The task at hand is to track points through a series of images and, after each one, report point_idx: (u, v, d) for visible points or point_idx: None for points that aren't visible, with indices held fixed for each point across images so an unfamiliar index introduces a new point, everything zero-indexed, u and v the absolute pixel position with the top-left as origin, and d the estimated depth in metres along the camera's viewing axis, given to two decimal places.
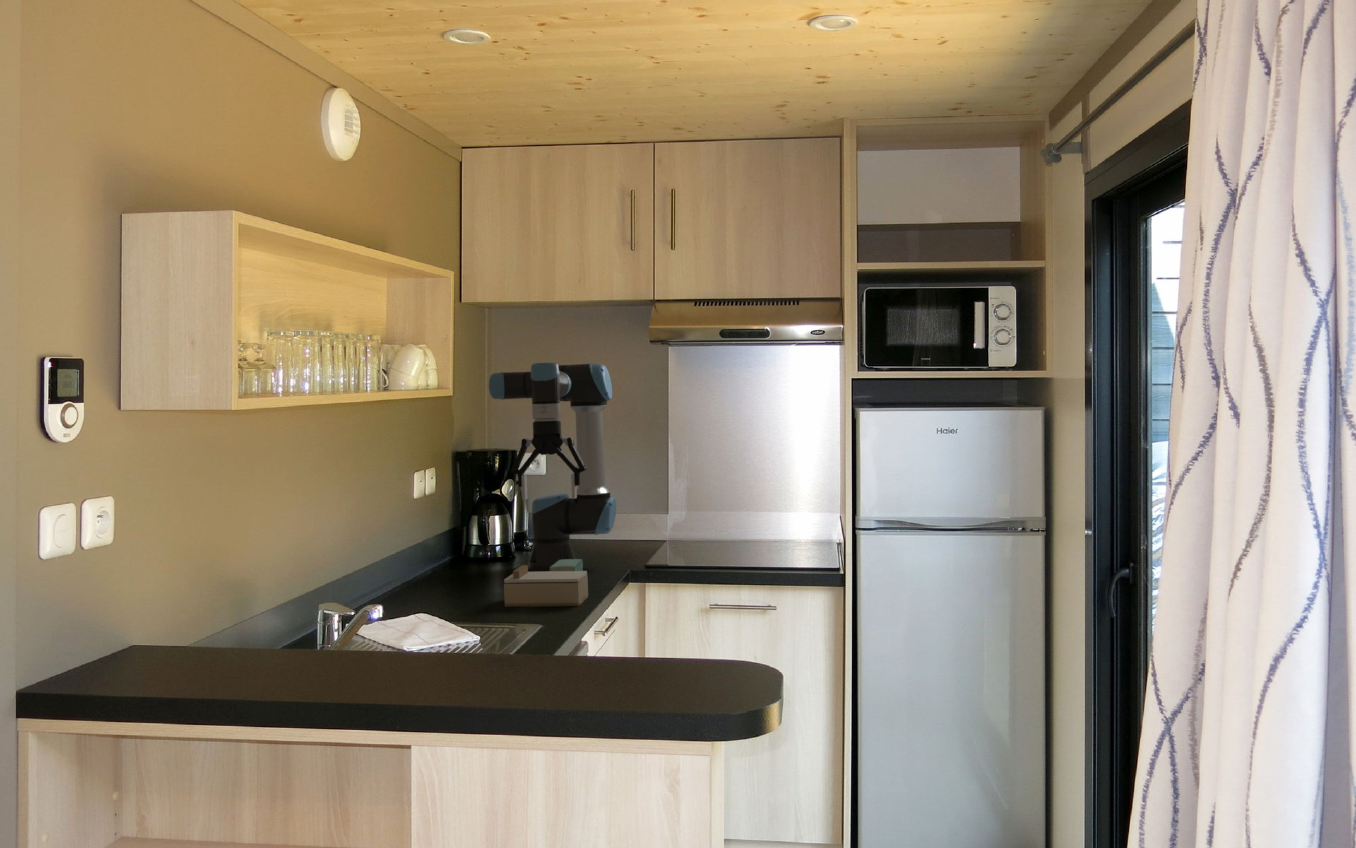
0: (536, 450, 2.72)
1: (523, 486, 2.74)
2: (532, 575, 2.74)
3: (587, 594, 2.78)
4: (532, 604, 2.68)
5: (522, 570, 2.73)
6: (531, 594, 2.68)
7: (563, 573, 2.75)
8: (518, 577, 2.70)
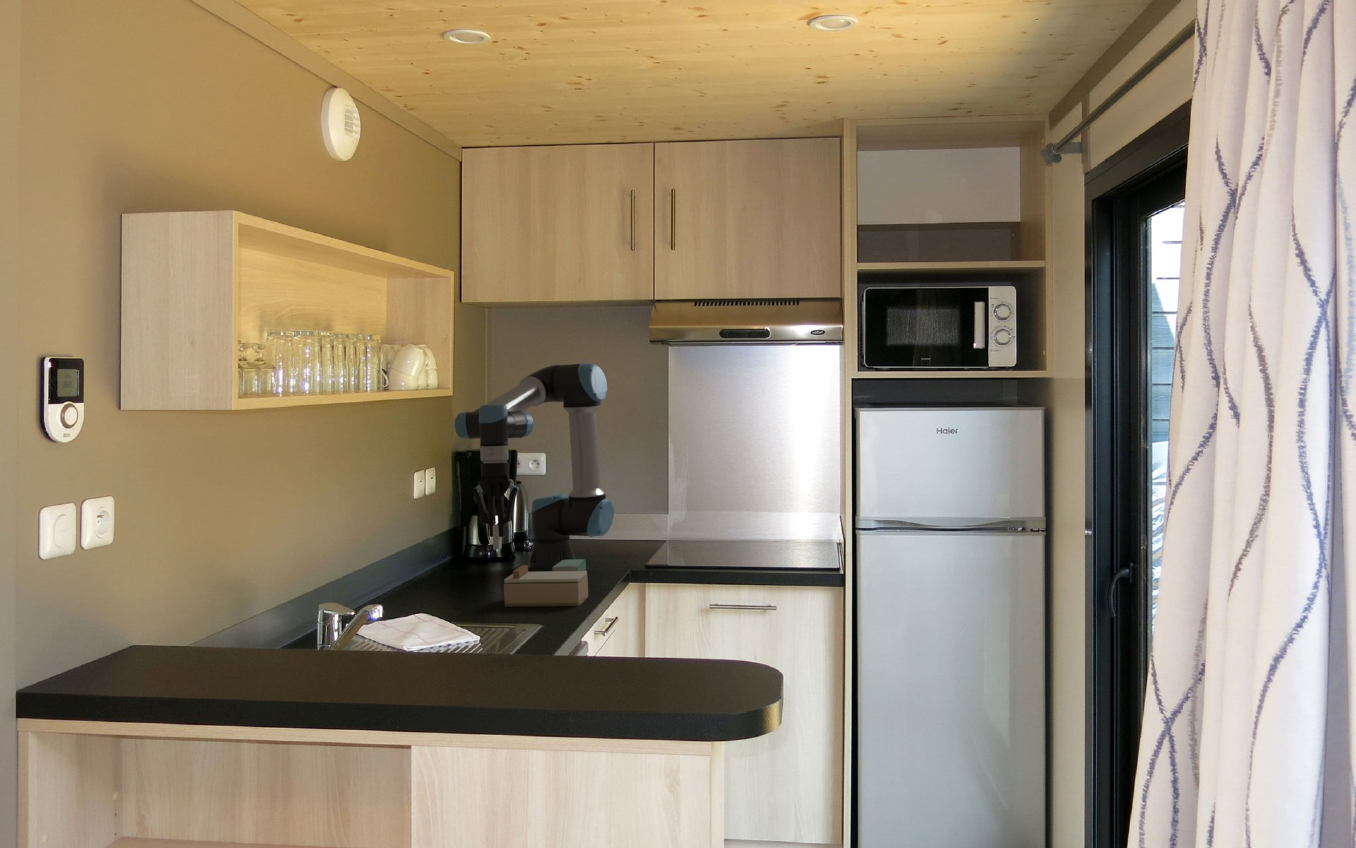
0: None
1: (494, 536, 2.73)
2: (532, 575, 2.74)
3: (587, 594, 2.78)
4: (532, 604, 2.68)
5: (522, 570, 2.73)
6: (531, 594, 2.68)
7: (563, 573, 2.75)
8: (518, 577, 2.70)
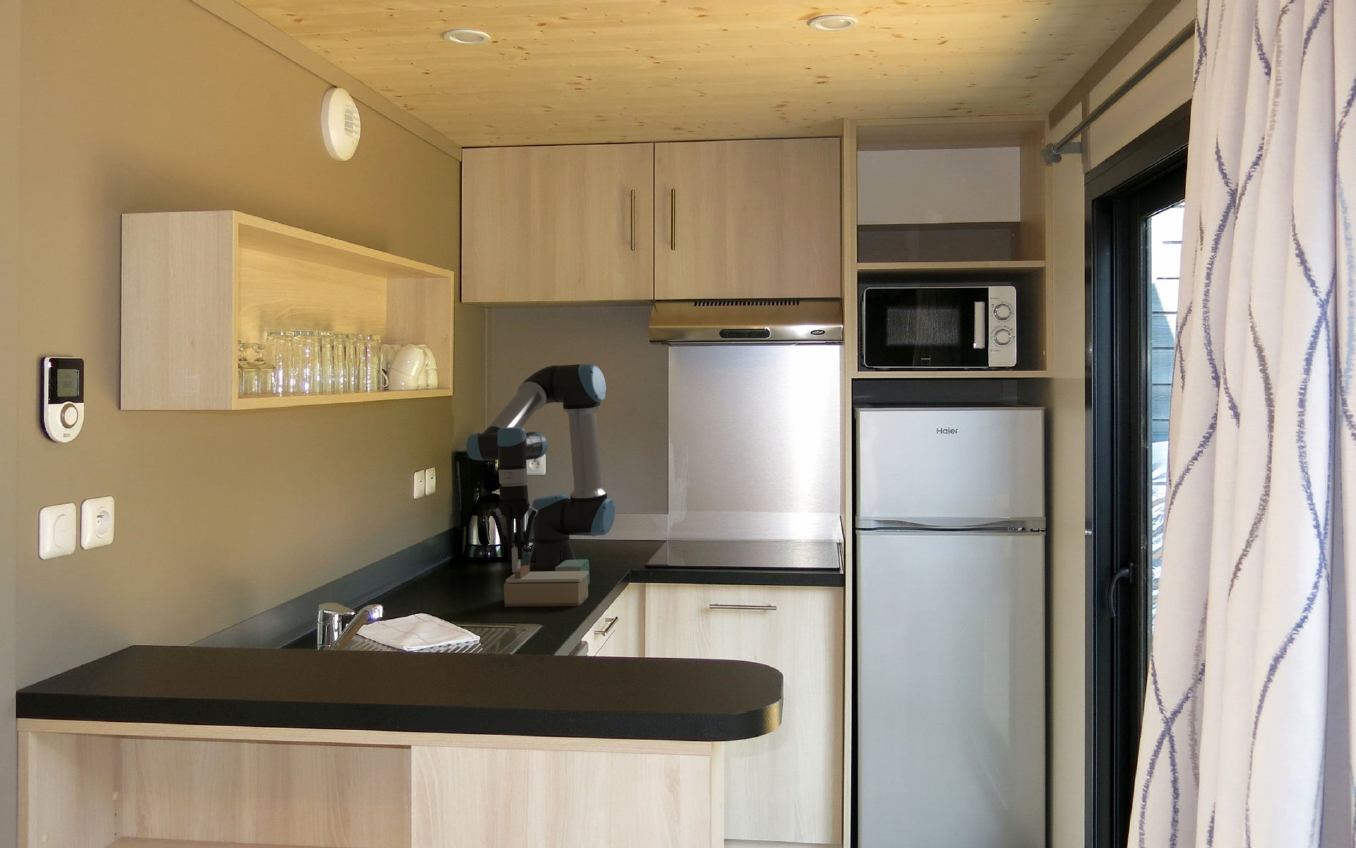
0: None
1: (513, 559, 2.73)
2: (534, 575, 2.74)
3: (587, 594, 2.78)
4: (532, 604, 2.68)
5: (524, 570, 2.73)
6: (531, 594, 2.68)
7: (565, 573, 2.75)
8: (520, 577, 2.70)
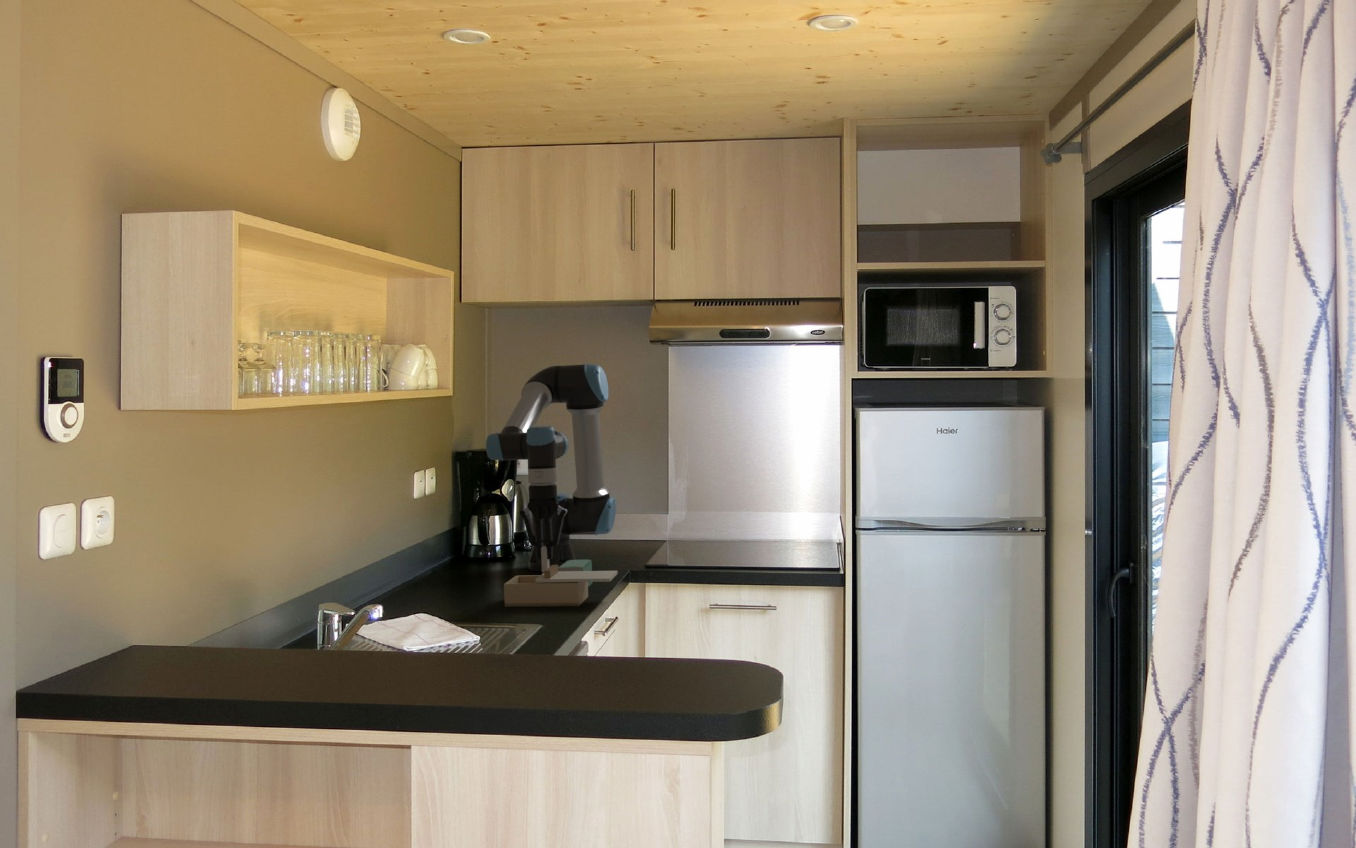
0: (532, 514, 2.72)
1: (543, 558, 2.72)
2: (563, 575, 2.73)
3: (587, 594, 2.78)
4: (532, 604, 2.68)
5: (553, 570, 2.72)
6: (531, 594, 2.68)
7: (594, 573, 2.74)
8: (549, 577, 2.69)
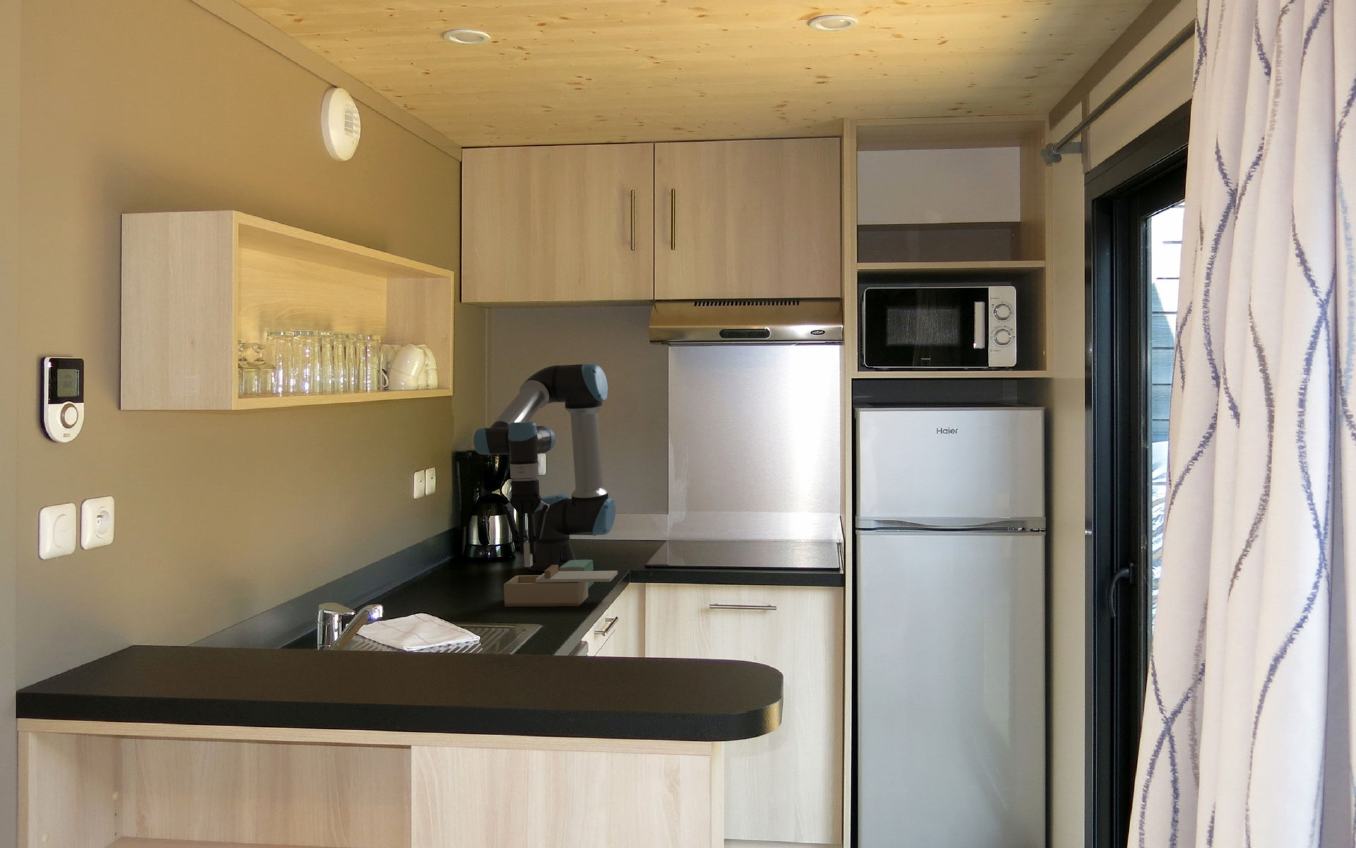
0: None
1: (525, 553, 2.73)
2: (563, 575, 2.73)
3: (587, 594, 2.78)
4: (532, 604, 2.68)
5: (553, 570, 2.72)
6: (531, 594, 2.68)
7: (594, 573, 2.74)
8: (549, 577, 2.69)
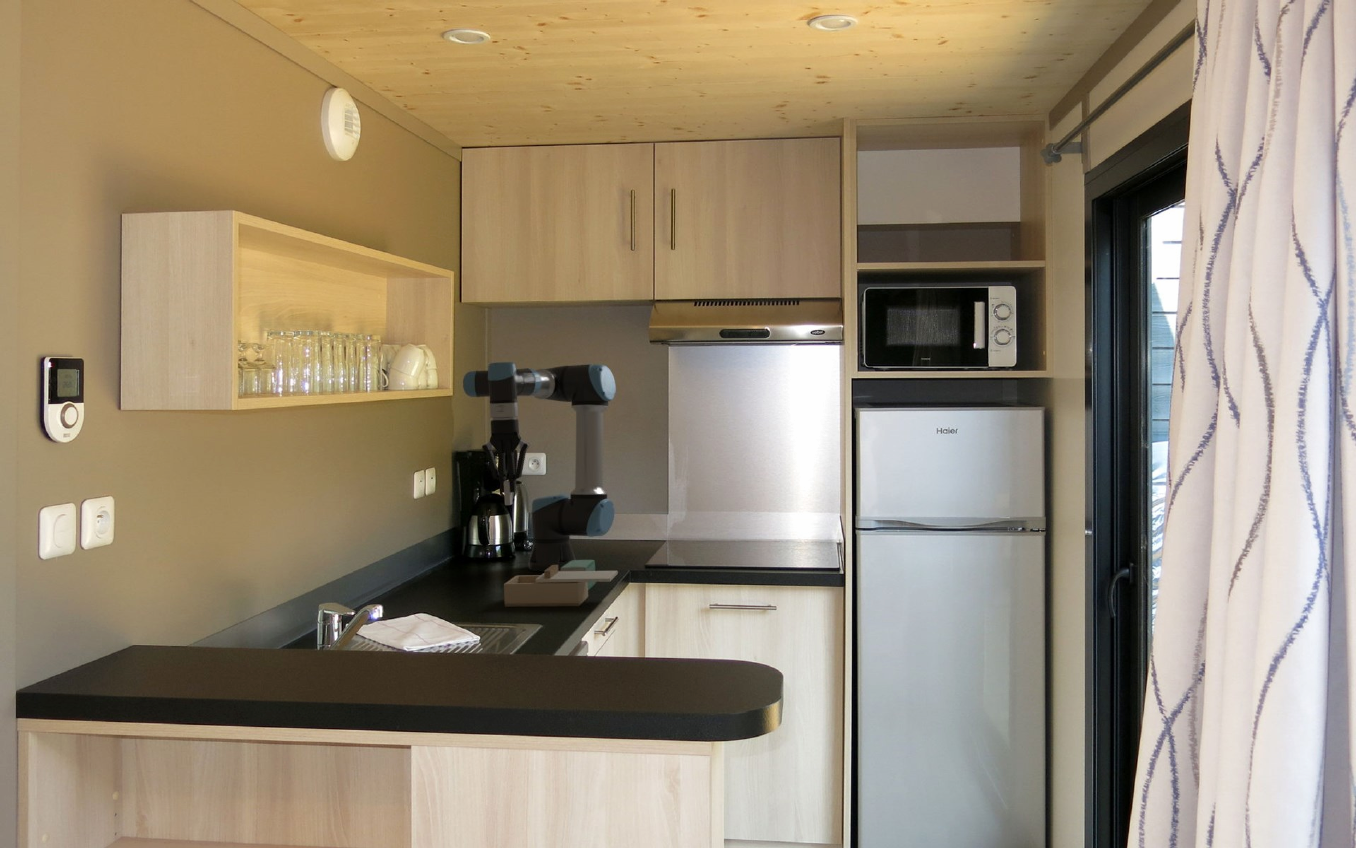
0: None
1: (505, 492, 2.77)
2: (563, 575, 2.73)
3: (587, 594, 2.78)
4: (532, 604, 2.68)
5: (553, 570, 2.72)
6: (531, 594, 2.68)
7: (594, 573, 2.74)
8: (549, 577, 2.69)
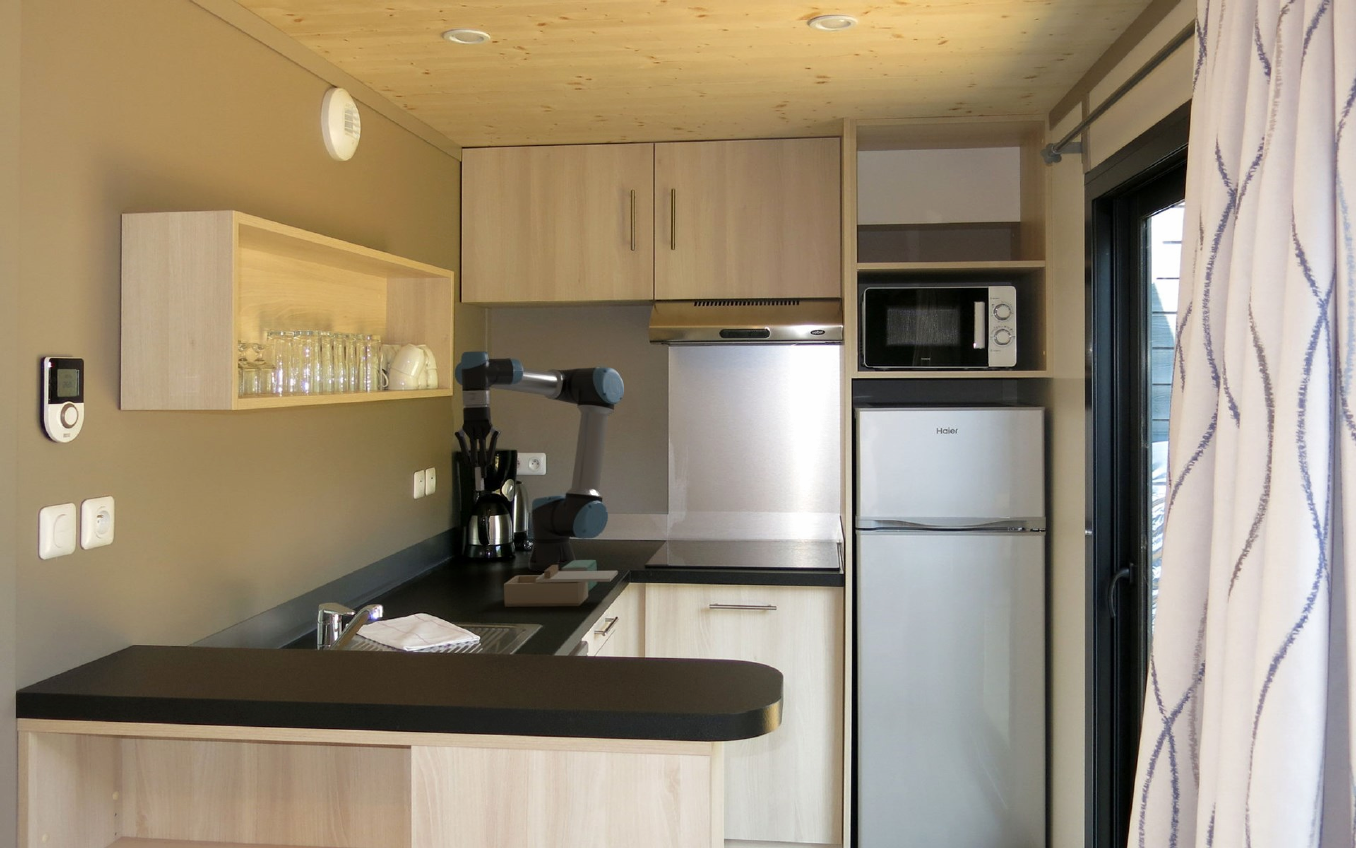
0: None
1: (476, 478, 2.85)
2: (563, 575, 2.73)
3: (587, 594, 2.78)
4: (532, 604, 2.68)
5: (553, 570, 2.72)
6: (531, 594, 2.68)
7: (594, 573, 2.74)
8: (549, 577, 2.69)
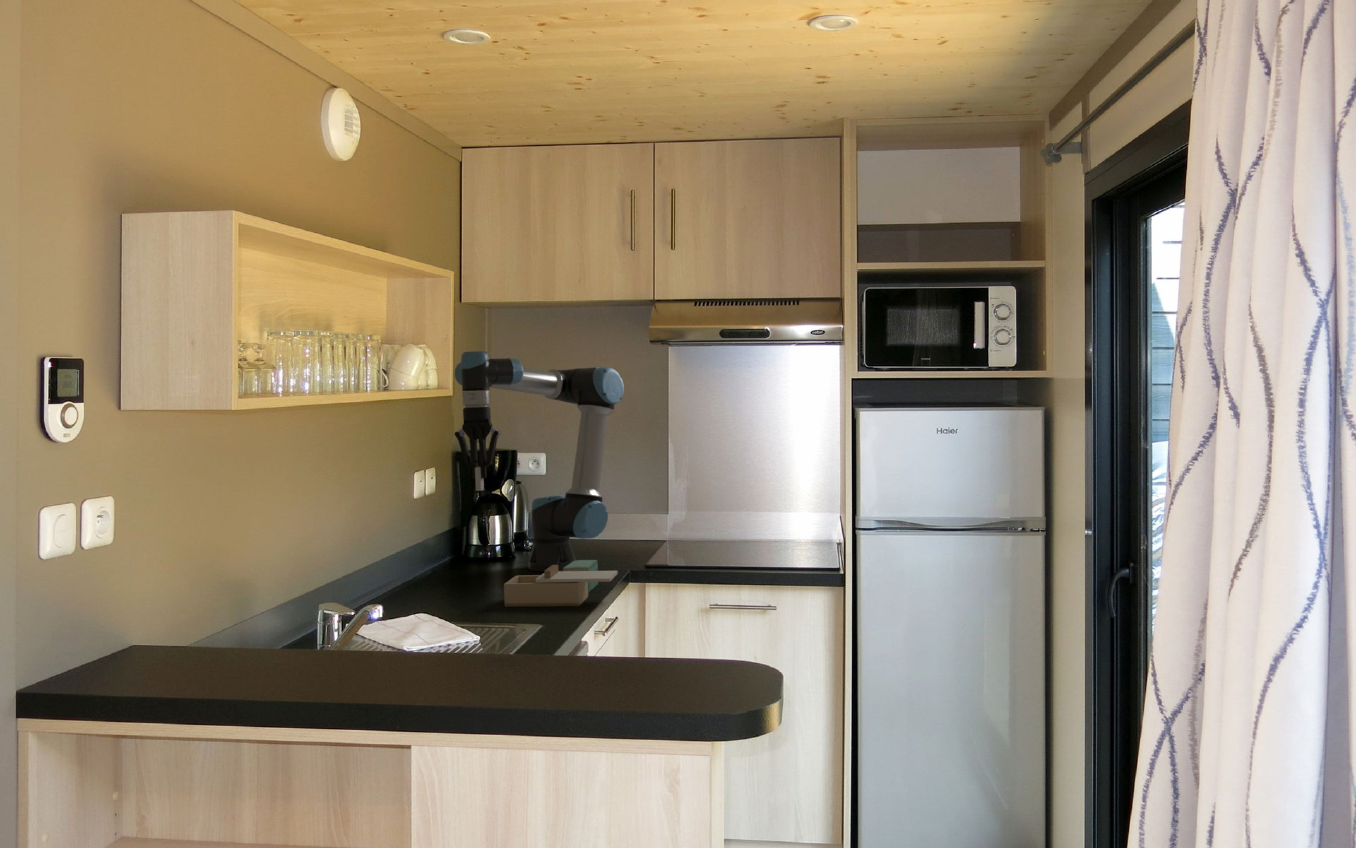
0: None
1: (476, 477, 2.85)
2: (563, 575, 2.73)
3: (587, 594, 2.78)
4: (532, 604, 2.68)
5: (553, 570, 2.72)
6: (531, 594, 2.68)
7: (594, 573, 2.74)
8: (549, 577, 2.69)
